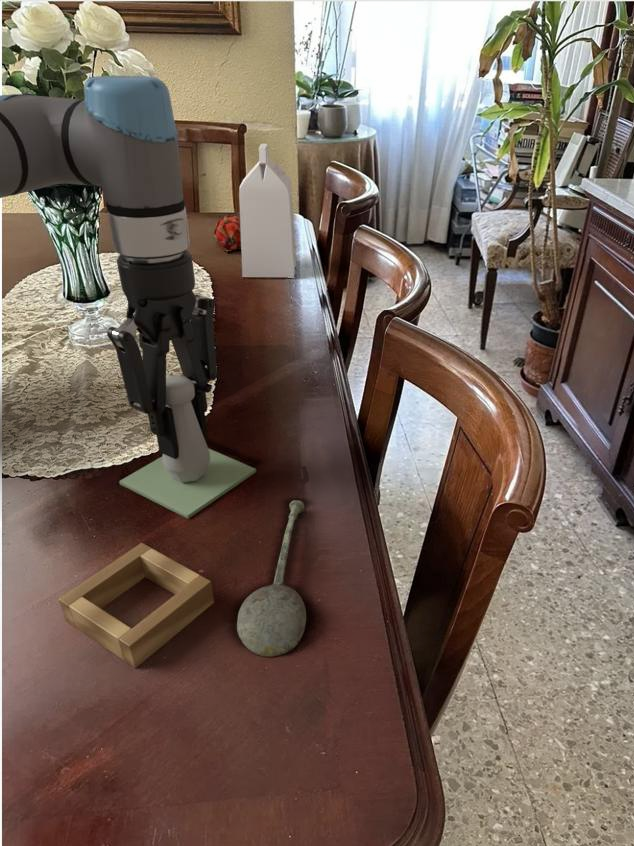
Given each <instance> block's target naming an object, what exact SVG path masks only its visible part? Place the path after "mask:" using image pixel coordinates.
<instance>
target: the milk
mask: <svg viewBox="0 0 634 846" xmlns="http://www.w3.org/2000/svg"><path fill="white" fill-rule="evenodd" d="M292 189H293V188H292V180H291V178H290V177H289V176H288V174H287V172H286V170H285V169H284V167H283V166H282V164H280V163H279V162H275V161H274V160H272V158H271V157H270V153H269V145H268V143H260V144H259V146H258V161H257V163H255V165H254V166H253V167H252V168H251V169H250V171H249V172H248V173H247V174H246V175H245V177H244V178H243V179H242V181H241V183H240V185H239V189H238V190H239V191H238V199H239V202H238V203H239V218H240V229H241V250H240V253H241V277H288V278H294V279H295V277H294V275H296V270H295V267H296V268H297V253H296V251H297V250H296V237H295V221H294V219H295V218H294V204H293V190H292Z"/></svg>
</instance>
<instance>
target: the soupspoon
mask: <svg viewBox="0 0 634 846" xmlns="http://www.w3.org/2000/svg"><path fill="white" fill-rule="evenodd" d="M289 510H290V511H289V512H290V513H289V515H288V522H287V525H286V528H285V531H284V535H283V538H282V539H283V540H282V545H281V548H280V554H279V558H278V561H277V565H276V568H275V574H274V580H273V583H272V584H269V585H266V586H262V587H260V588H258V589H256V590H255V591H253V592H252V593H251V594H249V595H248V596H247V597H246V598H245V600H243V602H242V603H241V606H240V608H239V609H238V614H237V622H236V631H237V632H236V633H237V635H238V637H239V639H240V641H241V642H242V644H243V645H244V646H245V648H246V649H247V650H249V651H250V652H252V653H254V654H256V655H258V656H261V657H265V658H266V657H268V658H269V657H270V658H273V657H276V656H282V655H284V654H287V653H288V652H291V651H292V650H293V649H294V648H295V647H296V646H298V644H299V643H300V641H301V639H302V637H303V635H304V632H305V629H306V624H307V610H306V606H305V603H304V601H303V598H302V597H301V595H300V594H299V593H298V592H297V591H296V590H295V589H293V588H292V587H289V586H288V585H285V584H284V582H285V581H284V580H285V572H286V566H287V560H288V555H289V550H290V543H291V538H292V534H293V529H294V524H295V521H297V519H298V516H299V514H301V513H302V512H304V510H305V504H304V502H303V501H301V500H298V499H297V500H292V501H291V502H290V503H289Z"/></svg>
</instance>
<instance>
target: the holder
mask: <svg viewBox="0 0 634 846" xmlns="http://www.w3.org/2000/svg"><path fill="white" fill-rule="evenodd" d="M144 578H146V579H147V580H149V581H151V582H152V583H154V584H156V585H157V586H160V587H161V588H163V589H164V590H167V591H168V592H170V593H171V594H173V596H171V597H170V598H169V599H167V600H166V601H165V602H164V603H163V604H161V605H160V606H159V607H157V608H156V609H155V610H154V611H153V612H150V614H149V615H147V616H146V617H145V618H143V619H142V620H141V621H140V622H138V623H137V624H136V625H135V626H133V627H132V628H131V627H130V626H128V625H126V624H125V623H124V622H122V621H120V620H119V619H117V618H116V617H115V616H113V615H111V614H110V613H108V612H107V611H105V610H104V609H103V608H104V607H106V606H107V605H109V604H111V602H113V601H114V600H115V599H117V598H118V597H120V596H121V595H123V594H124V593H125V592H127V591H129V589H131V588H132V587H134V586H135V585H136V584H137V583H139V582H140V581H142V580H143V579H144ZM212 587H213V586H212V581H211V580H210V579H207V578H206V577H205V576H202V575H200V573H199V574H198V573H197V572H195V571H193V570H192V569H189V568H188V567H186V566H184V565H183V564H180V562H179V563H178V562H177V561H175V560H174V559H172V558H170V557H168V556H166V555H164V554H163V553H161V552H159V551H157V550H156V549H154V548H152V547H151V546H149V545H146V544H145V543H144V542H140V543H139V544H137V545H136V546H134V547H133V548H132V549H130V550H128V551H127V552H125V553H124V554H123V555H121V556H120V557H118V558H117V559H115V560H114V561H112V562H111V563H109V564H108V565H106V566H105V567H103V568H102V569H100V570H99V571H98V572H96V573H94V574H93V575H92V576H90V577H88V578H87V579H85V580H84V581H83V582H81V583H80V584H78V585H76V586H75V587H74V588H72V589H71V590H70V591H68V592H66V593H65V594H64V595H62V596H61V597H59V598H58V601H59V604H60V609H61V610H62V613H63V617H64V619H65V621H66V622H67V623H68V624H70V625H71V626H73V627H74V628H76V629H77V630H78V631H80V632H81V633H83V634H84V635H86V636H87V637H88V638H91V639H93V640H94V641H95V642H96V643H97V644H99V645H100V646H102V647H104V648H105V649H106V650H108V651H110V653H112V654H114V655H115V656H117V657H118V658H120V659H121V660H123V661H124V662H125V663H127V664H128V665H130V666H132V667H133V668H134V669H136V668H138V667H139V666H140V665H142V664H143V663H144V662H145V661H146V660H147V659H149V658H150V657H151V656H152V655H154V654H155V653H156V652H157V651H158V650H159V649H160V648H162V647H163V646H164V645H165V644H166V643H168V642H169V641H170V640H171V639H173V638H174V637H175V636H176V635H177V634H179V633H180V632H181V631H182V630H183V629H185V628H186V627H187V626H188V625H189V624H191V622H193V621H194V620H196V618H197V617H199V616H200V615H202V614H203V613H204V612H205V611H206V610H208V609H209V608H210V607H211V606H212V605H213V604H214V603H215V600H214V599H215V598H214V593H213V588H212Z"/></svg>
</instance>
